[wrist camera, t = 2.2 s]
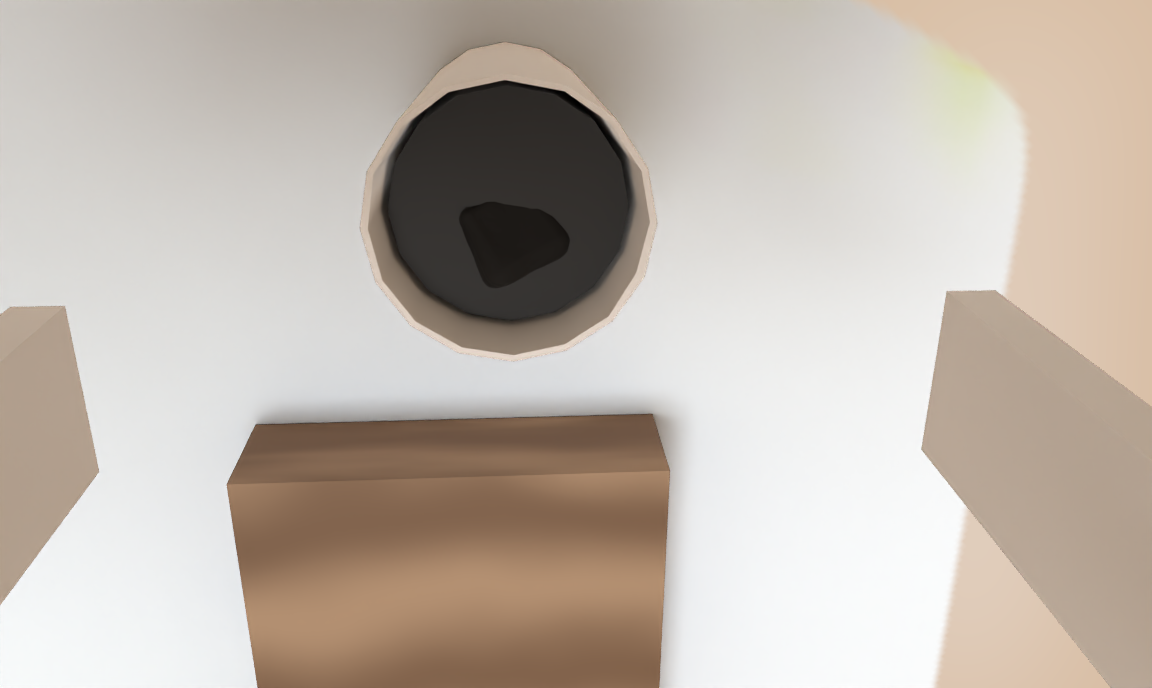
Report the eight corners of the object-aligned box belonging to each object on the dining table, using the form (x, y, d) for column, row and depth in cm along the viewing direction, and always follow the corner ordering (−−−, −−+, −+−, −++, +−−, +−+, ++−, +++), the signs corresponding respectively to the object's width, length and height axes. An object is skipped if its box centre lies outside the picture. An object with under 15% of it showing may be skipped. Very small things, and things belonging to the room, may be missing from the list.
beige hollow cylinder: (641, 190, 32) (697, 297, 23) (455, 268, 33) (439, 402, 24) (563, -9, 30) (591, 22, 21) (363, 79, 30) (304, 148, 21)
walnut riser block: (255, 425, 35) (226, 484, 31) (652, 414, 36) (669, 470, 32) (302, 768, 41) (282, 852, 37) (638, 751, 42) (651, 831, 38)
